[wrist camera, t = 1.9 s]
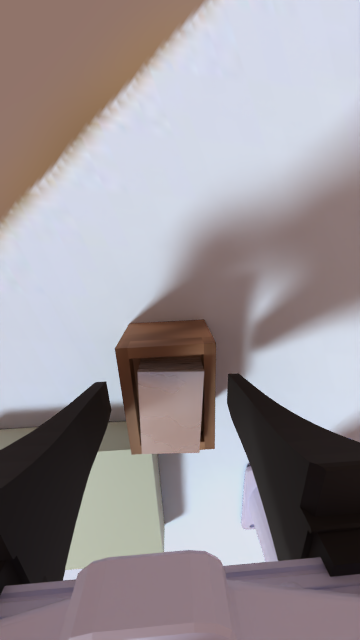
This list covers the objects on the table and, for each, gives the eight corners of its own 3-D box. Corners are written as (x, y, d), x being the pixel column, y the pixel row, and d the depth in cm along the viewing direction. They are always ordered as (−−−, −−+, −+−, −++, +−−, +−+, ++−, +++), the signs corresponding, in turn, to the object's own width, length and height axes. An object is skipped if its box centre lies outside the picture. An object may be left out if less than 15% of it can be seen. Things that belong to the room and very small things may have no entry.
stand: (153, 419, 16) (151, 448, 14) (164, 525, 20) (163, 561, 18) (-16, 430, 16) (-49, 461, 14) (29, 536, 20) (10, 574, 18)
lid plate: (200, 356, 11) (204, 371, 10) (196, 430, 13) (199, 452, 12) (141, 357, 11) (137, 372, 10) (144, 431, 13) (141, 454, 11)
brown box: (203, 318, 14) (215, 342, 10) (204, 402, 16) (214, 448, 13) (129, 322, 14) (114, 348, 10) (140, 407, 16) (131, 454, 12)
